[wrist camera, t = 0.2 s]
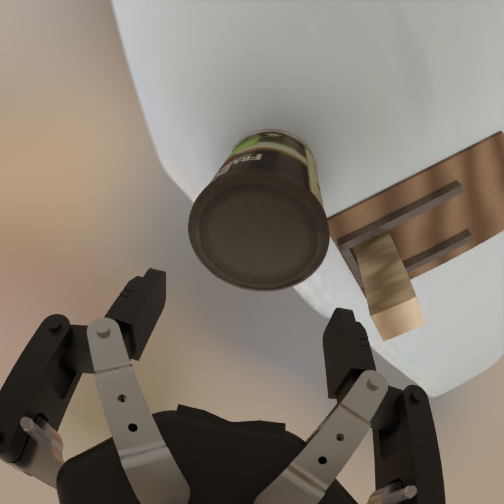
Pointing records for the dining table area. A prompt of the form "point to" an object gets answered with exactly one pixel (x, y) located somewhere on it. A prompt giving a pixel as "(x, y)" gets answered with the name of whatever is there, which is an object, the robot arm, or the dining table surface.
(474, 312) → the dining table surface
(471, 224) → the board
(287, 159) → the coffee can
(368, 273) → the birch block
